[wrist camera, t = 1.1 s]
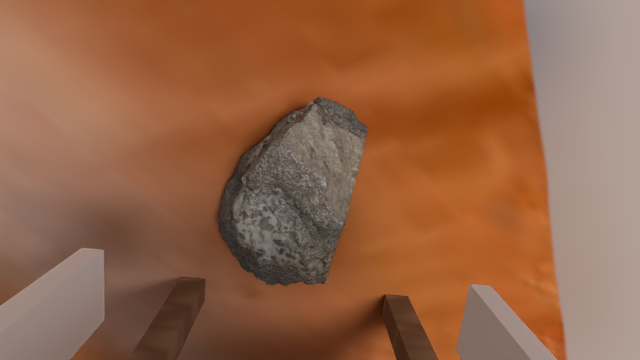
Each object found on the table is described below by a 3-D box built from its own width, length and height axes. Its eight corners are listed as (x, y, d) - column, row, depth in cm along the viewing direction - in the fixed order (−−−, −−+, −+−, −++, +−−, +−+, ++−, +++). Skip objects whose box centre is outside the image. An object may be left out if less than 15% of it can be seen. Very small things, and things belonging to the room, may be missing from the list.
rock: (320, 281, 31) (322, 330, 25) (210, 252, 31) (184, 295, 24) (374, 113, 29) (392, 119, 22) (255, 77, 28) (238, 73, 21)
